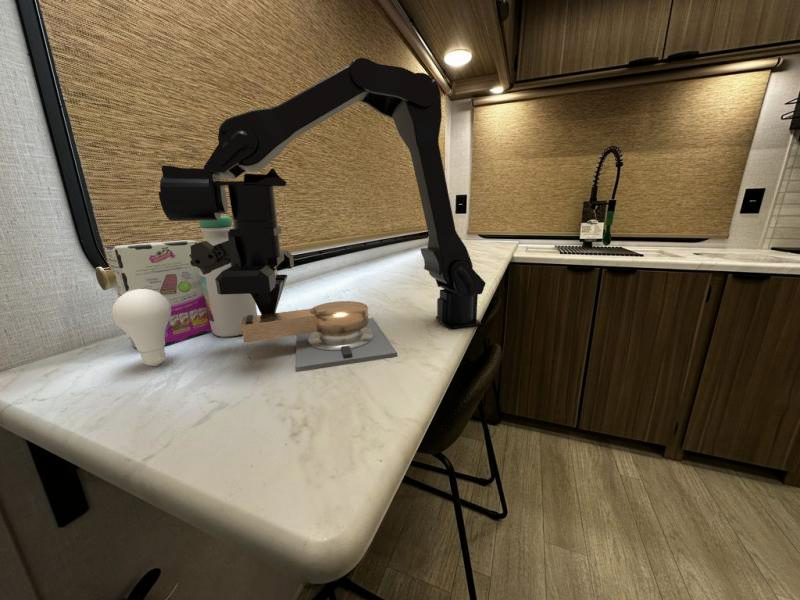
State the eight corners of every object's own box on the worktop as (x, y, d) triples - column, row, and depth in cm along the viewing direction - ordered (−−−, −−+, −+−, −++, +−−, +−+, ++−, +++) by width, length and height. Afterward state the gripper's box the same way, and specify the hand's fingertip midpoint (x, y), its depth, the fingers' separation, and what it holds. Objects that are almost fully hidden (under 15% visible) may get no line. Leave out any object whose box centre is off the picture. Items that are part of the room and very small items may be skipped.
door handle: (359, 312, 56) (359, 297, 55) (375, 328, 48) (375, 310, 47) (246, 328, 49) (243, 310, 49) (242, 349, 41) (239, 329, 41)
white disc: (366, 324, 57) (366, 313, 57) (379, 345, 48) (379, 333, 47) (307, 331, 55) (306, 320, 54) (309, 355, 45) (307, 342, 44)
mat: (372, 320, 61) (372, 314, 61) (397, 356, 45) (397, 348, 45) (297, 329, 57) (297, 323, 57) (296, 371, 41) (295, 363, 41)
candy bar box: (201, 326, 60) (184, 239, 56) (215, 331, 57) (199, 240, 53) (129, 347, 51) (102, 245, 47) (142, 353, 48) (114, 246, 44)
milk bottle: (266, 321, 61) (250, 214, 54) (244, 338, 53) (222, 218, 47) (229, 320, 61) (208, 215, 55) (202, 337, 54) (174, 218, 48)
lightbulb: (117, 372, 42) (95, 293, 40) (163, 353, 48) (147, 283, 45) (147, 379, 40) (126, 296, 37) (192, 359, 46) (176, 285, 43)
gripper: (220, 218, 52) (234, 306, 57) (154, 225, 35) (183, 352, 39) (289, 217, 54) (298, 304, 58) (260, 224, 36) (276, 347, 41)
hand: (268, 322), depth 49 cm, fingers closed
